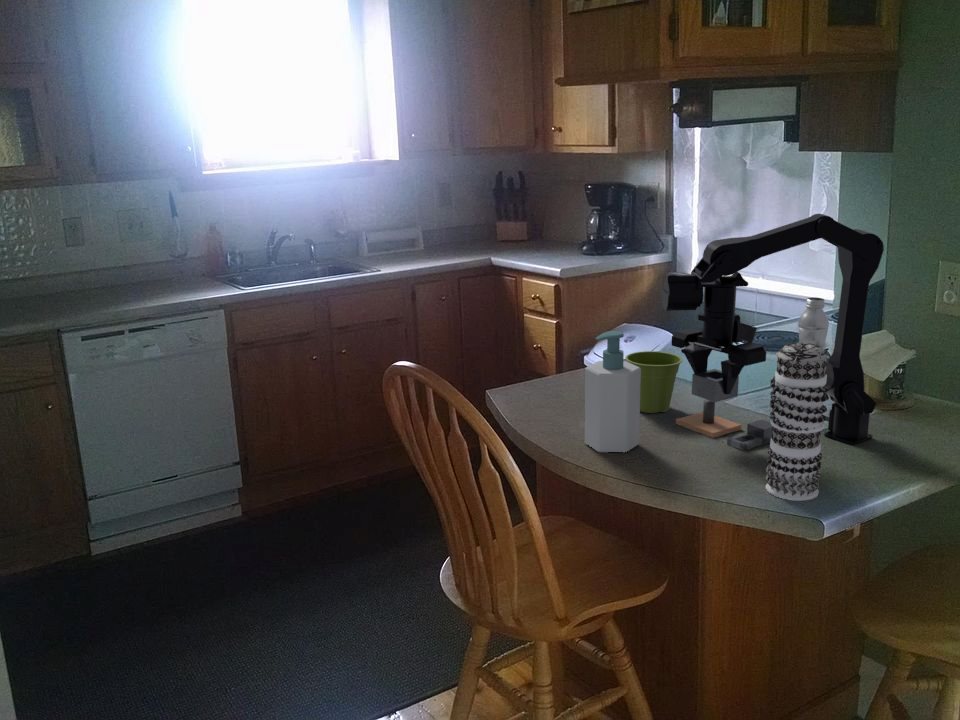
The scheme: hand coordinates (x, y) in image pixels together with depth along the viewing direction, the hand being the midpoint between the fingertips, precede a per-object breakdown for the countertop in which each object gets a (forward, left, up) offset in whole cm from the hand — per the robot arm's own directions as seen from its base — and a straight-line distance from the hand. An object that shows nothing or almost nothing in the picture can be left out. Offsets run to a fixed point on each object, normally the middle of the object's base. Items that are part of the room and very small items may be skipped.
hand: (714, 389), depth 173 cm
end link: (0, 0, -1) cm, 1 cm away
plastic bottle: (+12, -44, -10) cm, 47 cm away
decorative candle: (-24, +7, -10) cm, 27 cm away
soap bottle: (+10, +17, -10) cm, 22 cm away
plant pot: (+21, -4, -10) cm, 24 cm away
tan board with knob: (+6, -5, -10) cm, 13 cm away
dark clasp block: (-5, -5, -10) cm, 13 cm away
